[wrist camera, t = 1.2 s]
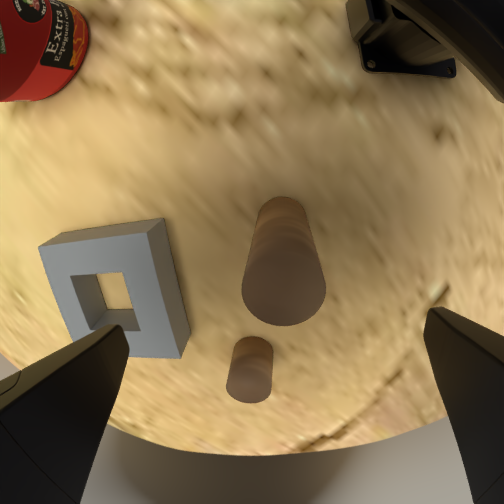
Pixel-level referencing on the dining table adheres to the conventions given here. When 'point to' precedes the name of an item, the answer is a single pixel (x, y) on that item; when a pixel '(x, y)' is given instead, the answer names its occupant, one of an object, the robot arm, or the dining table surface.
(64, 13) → the canned food
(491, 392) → the robot arm
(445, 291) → the dining table surface
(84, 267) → the socket block
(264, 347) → the short pin
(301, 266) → the long pin
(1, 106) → the dining table surface
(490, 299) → the dining table surface
